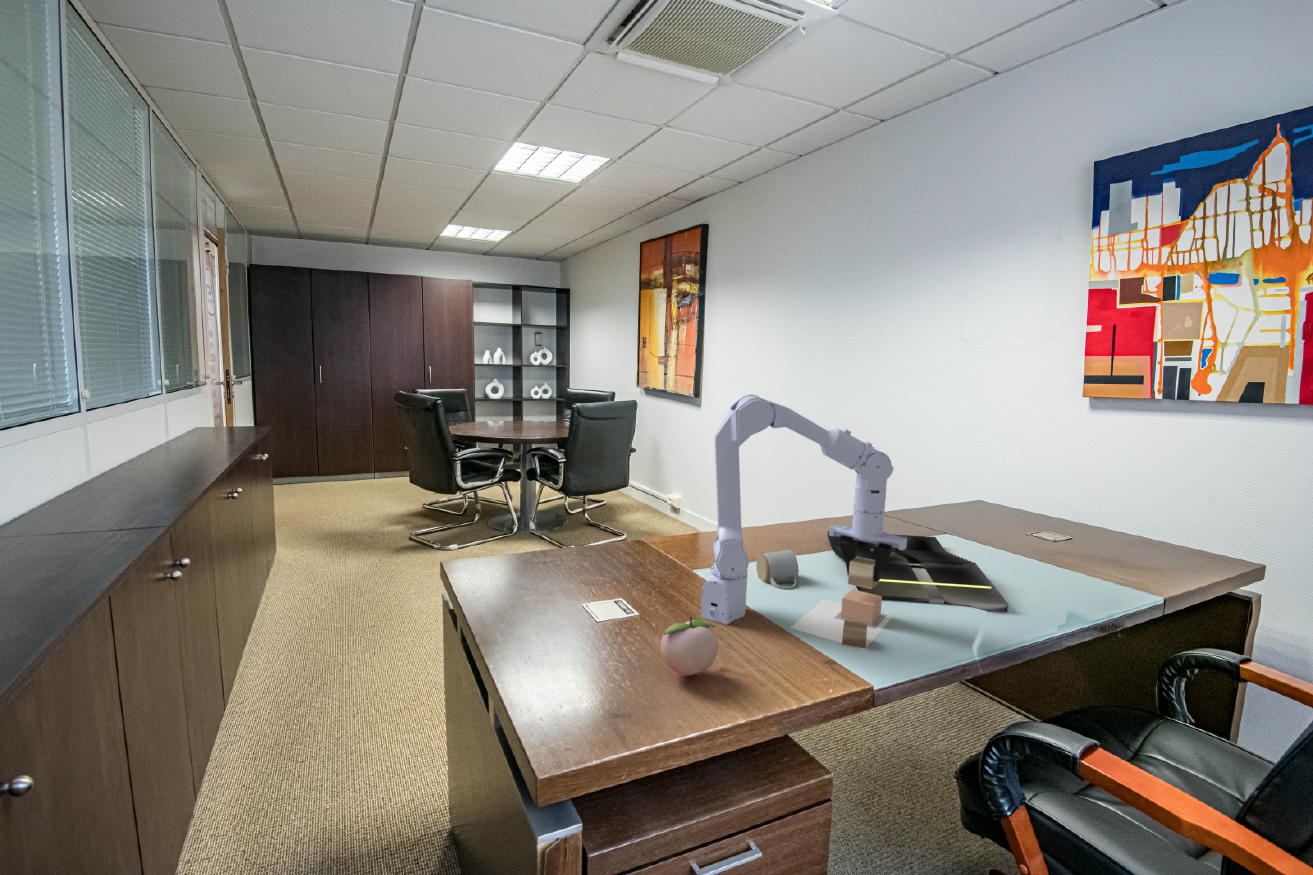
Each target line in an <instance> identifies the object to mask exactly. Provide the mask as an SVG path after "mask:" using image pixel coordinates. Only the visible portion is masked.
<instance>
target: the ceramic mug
mask: <svg viewBox="0 0 1313 875" xmlns="http://www.w3.org/2000/svg"><path fill="white" fill-rule="evenodd" d="M756 573H757V577H758V579H759V580H760V581H762V582H763V583H765V584H771V586H772V587H773V588H776V589H780V590H793V589H795V588H796V586H797V581H798V577H799V563H798V559H797V557H796V555H795V553H794V552H793V551H792V550H790V549H786V550H780V551H773V552H765V553H762V554H760V555H759V556H758V557H757V560H756ZM778 583H779V584H781V583H782V584H784V583H793V584H792V585H791V586H782V585H779V584H778Z"/></svg>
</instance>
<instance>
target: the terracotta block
mask: <svg viewBox="0 0 1313 875" xmlns="http://www.w3.org/2000/svg"><path fill="white" fill-rule="evenodd" d="M882 603H883V600H882V596H878V595H874V594H870V593H866V592H861V591H858V589H851V590H850V591H848V593H846V594H845V595H844V596H843V597H842V599H841V604H842V611H841V617H842V618H845V619H849V620H853V621H856V622H861V623H867V625H871V626H872V625H873V624H874V622H875V621H876V620H877V619H878V618H879V617H880V616H881V614H882Z"/></svg>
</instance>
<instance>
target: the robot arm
mask: <svg viewBox="0 0 1313 875" xmlns="http://www.w3.org/2000/svg"><path fill="white" fill-rule="evenodd" d="M768 427H771V428H773V429H781V428H782V429H783V428H787V429H788V430H791V431H793V432H795V433H797V434H799V435H800V436H802V437H805V438H806V439H809V440H810V441H812V442H814V443H816V444H818V445H819V446H820V449H821V453H822V454H823V456H825V457H828V458H829V459H831V460H832V461H833V460H834V461H835V462H837V463H839V464H841V465H842V466H844V467H846V468H848V469H850V470H853V471H855V472H856V478H855V487H854V497H853V498H854V500H853V501H854V503H853V511H852V524H851V525H852V526H849V525H848V526H847V525H839V524H831V525H830V526H829V527H828V528H829V529H828V531H829V536H838V537H840V541H838V544H839V547H840V549H841V551H842V553H843V556H844V559H845V562H844V563H845V567H846V574H847V576H848V577H849V565H850V561H851V560H853V559H854V558H855V555H856V548H857V543H858V540H859V541H864V542H869V543H874V544H879V546H877V547H876V548H875V570H874V582H878V581H879V580H880V577H881V573H882V570H883V568H884V565H885V563H886V561H887V559H888V557H889V556H890V554H891V552H892V551H893V549H894V547H895V548H898V549H900V550H904V549H906V545H907V538H903V537H899V536H895V535H896V534H894V535H892V534H891V533H888V532H885V531H884V522H885V521H884V520H885V519H884V518H885V511H886V498H887V497H886V496H887V483H888V482H887V481H888V479H889V478H890V477H891V475H892V474H893V471H894V466H893V465H892V460H891V459H890V457H889V455H888V454H886V453H884V452H883V451H881V450H879V449H876V448H875V447H874V446H873V444H872V443H871V442H869V441H866V442H864V441H862V440H860V439H858V438H857V437H855V436H853V435H851V434H852V431H850V430H848V429H847V428H843V429H840V428H839V427H838V428H834V429H830V430H827V429H825V428H824V427H823V426H820V425H819V424H817V423H815V422H814V421H812V420H810V419H809V418H807V417H805V416H803V415H801V414H800V413H798V412H796V411H795V410H793V409H791V408H790V407H787V406H785V405H782V404H779V403H776V402H774V401H771V400H768V399H765V398H762V397H760V396H758V395H755V394H746V395H743V396H742V397H740V398H739V399H738V400H736V401H735V402H733V403H732V404H731V406H730V407H729V409H728V411H727V413H726V415H725V417H724V418H723V420H722V422H721V424H720V425H719V426H718V428H717V430H716V432H715V433H714V439H713V440H714V441H713V442H714V465H715V469H714V470H715V492H716V493H715V494H716V495H715V496H716V497H715V498H716V519H717V520H716V521H717V522H716V537H715V539H714V541H713V544H712V553H713V555H714V559H715V562H714V563H713V565H712V566H711V567H710V576H709V578H708V579H707V581H706V582H705V583H704V584H703V586H702V587H701V594H700V596H701V597H700V615H699V616H700V618H703V619H705V620H706V619H707V620H708V621H709V620H710V621H713V622H715V623H718V624H719V623H720V624H723V625H726V626H728V625H729V624H731V623H732V622H733V621H735V620H737V619H741V618H743V617H745V616H746V609H747V607H746V605H747V589H748V586H747V585H748V571H749V570H748V568H749V566H750V565H749V564H750V560H749V559H750V558H749V555H748V553H747V552H746V550H745V547H744V538H743V537H744V536H743V531H742V507H741V506H742V504H741V502H742V501H741V473H740V469H741V468H740V446H741V445H743V443H745V442H746V441H747V440H749V438H750V437H751V436H753V435H755V434H758V433H760V432H762V431H764V430H766V429H767V428H768Z"/></svg>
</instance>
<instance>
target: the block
mask: <svg viewBox="0 0 1313 875" xmlns="http://www.w3.org/2000/svg"><path fill="white" fill-rule="evenodd" d="M866 635H867V623H861V622H855V621H849V620H844V627H843V637H842V643H841V644H842V645H845V646H849V647H853V646H854V647H853V648H857V647H860V648H866ZM860 648H859V649H860ZM866 649H867V648H866Z"/></svg>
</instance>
